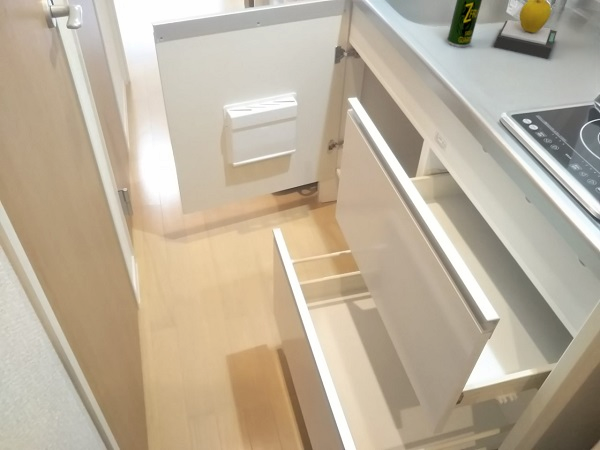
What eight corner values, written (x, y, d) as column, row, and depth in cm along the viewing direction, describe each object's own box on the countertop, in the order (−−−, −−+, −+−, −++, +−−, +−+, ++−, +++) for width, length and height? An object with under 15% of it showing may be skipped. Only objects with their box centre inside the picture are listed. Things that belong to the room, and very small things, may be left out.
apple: (516, 23, 124) (527, -11, 119) (544, 29, 123) (556, -6, 117) (513, 33, 120) (525, -2, 114) (542, 39, 118) (555, 3, 113)
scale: (553, 41, 125) (558, 28, 123) (547, 58, 118) (552, 45, 116) (502, 30, 129) (506, 18, 127) (494, 46, 122) (498, 33, 119)
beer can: (442, 40, 123) (454, -13, 115) (459, 36, 125) (472, -16, 117) (457, 49, 120) (470, -4, 111) (474, 45, 122) (489, -8, 113)
